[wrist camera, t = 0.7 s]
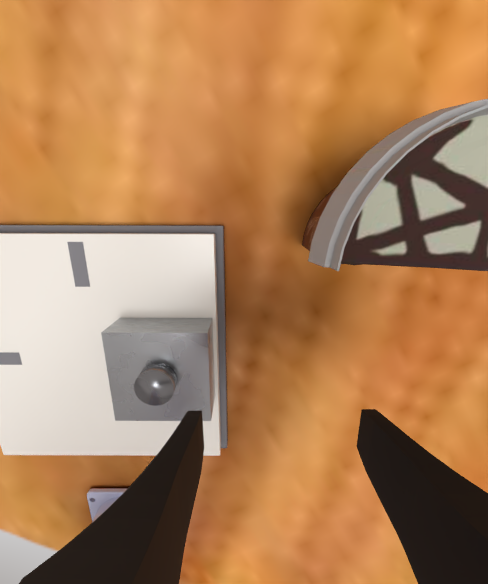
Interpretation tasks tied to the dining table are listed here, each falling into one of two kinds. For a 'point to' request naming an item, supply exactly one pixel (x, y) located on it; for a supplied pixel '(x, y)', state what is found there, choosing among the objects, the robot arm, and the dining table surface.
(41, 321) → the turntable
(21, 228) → the susan base
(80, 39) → the dining table surface
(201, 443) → the robot arm
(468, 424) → the dining table surface
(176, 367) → the cover
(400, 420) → the dining table surface
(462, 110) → the food container
